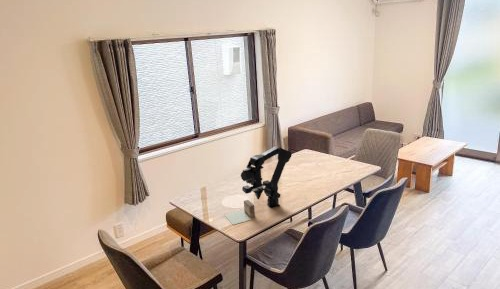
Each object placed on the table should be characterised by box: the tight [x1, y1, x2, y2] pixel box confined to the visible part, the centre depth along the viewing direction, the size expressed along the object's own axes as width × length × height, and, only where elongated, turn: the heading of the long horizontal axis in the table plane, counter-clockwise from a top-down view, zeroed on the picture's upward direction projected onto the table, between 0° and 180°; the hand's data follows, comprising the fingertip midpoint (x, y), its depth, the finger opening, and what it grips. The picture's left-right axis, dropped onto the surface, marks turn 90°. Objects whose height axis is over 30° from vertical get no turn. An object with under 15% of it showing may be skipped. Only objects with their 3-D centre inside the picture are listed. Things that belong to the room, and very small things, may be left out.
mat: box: [224, 210, 252, 226], centre depth 227 cm, size 12×14×1 cm
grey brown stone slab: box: [243, 199, 256, 219], centre depth 229 cm, size 3×9×8 cm, turn 26°
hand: (258, 199), depth 231 cm, fingers closed
